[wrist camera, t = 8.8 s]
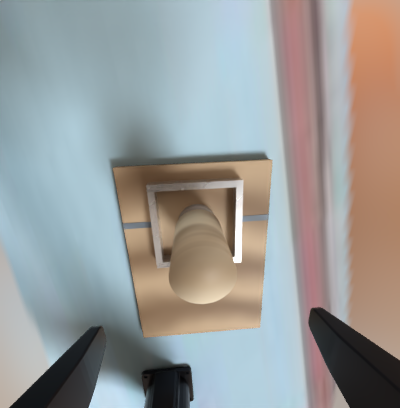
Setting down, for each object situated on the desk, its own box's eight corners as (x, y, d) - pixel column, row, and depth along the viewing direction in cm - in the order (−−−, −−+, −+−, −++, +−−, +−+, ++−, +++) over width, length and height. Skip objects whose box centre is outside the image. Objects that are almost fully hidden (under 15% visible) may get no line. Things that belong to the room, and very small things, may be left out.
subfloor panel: (257, 321, 25) (260, 327, 24) (145, 331, 24) (143, 337, 23) (268, 159, 18) (272, 160, 18) (116, 166, 18) (112, 168, 17)
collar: (238, 255, 21) (241, 262, 19) (158, 260, 20) (157, 268, 19) (239, 177, 18) (243, 180, 17) (148, 182, 18) (146, 185, 16)
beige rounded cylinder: (217, 238, 20) (236, 301, 12) (177, 241, 20) (171, 306, 12) (217, 200, 18) (237, 244, 11) (174, 203, 18) (165, 248, 11)
